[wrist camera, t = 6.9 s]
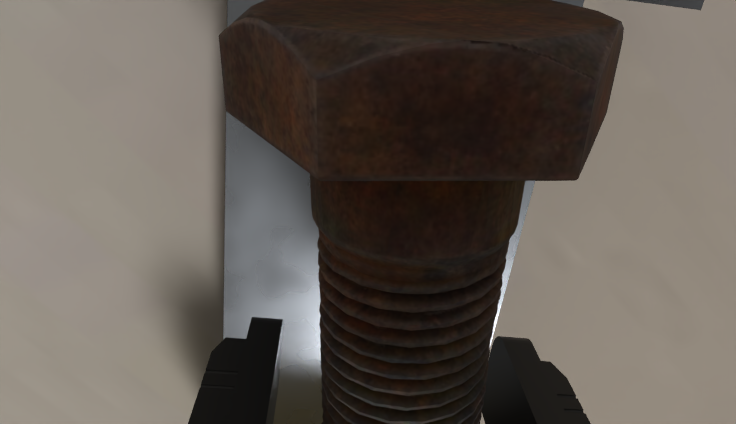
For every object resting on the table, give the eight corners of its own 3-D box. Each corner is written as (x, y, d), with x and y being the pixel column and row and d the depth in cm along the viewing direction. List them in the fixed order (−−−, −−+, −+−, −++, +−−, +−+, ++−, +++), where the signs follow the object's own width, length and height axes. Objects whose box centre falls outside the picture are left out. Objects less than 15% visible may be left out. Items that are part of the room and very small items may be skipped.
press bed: (584, -103, 16) (755, -143, 9) (440, 465, 26) (473, 643, 20) (243, -154, 15) (162, -239, 9) (230, 453, 25) (188, 635, 19)
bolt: (356, 479, 18) (363, -18, 11) (509, 552, 16) (637, -1, 9) (242, 668, 13) (129, 16, 6) (438, 807, 11) (586, 69, 4)
